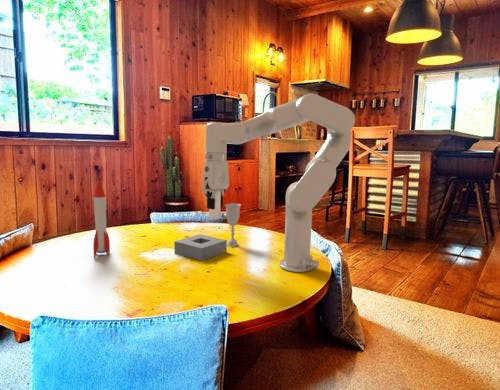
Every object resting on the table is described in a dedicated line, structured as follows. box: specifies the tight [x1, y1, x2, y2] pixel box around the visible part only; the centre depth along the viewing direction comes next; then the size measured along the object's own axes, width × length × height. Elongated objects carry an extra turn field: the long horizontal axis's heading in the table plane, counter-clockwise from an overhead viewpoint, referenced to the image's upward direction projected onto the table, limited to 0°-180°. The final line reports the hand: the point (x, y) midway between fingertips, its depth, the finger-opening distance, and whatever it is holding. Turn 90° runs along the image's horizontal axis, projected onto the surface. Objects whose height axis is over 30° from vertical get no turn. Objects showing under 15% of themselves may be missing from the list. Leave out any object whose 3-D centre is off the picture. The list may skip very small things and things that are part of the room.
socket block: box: [174, 233, 228, 262], centre depth 152 cm, size 15×15×5 cm
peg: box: [208, 189, 221, 220], centre depth 136 cm, size 4×4×12 cm
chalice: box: [224, 203, 242, 248], centre depth 163 cm, size 7×7×18 cm
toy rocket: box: [92, 179, 111, 258], centre depth 145 cm, size 6×6×30 cm
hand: (214, 207), depth 136 cm, fingers closed on peg, 4 cm apart
